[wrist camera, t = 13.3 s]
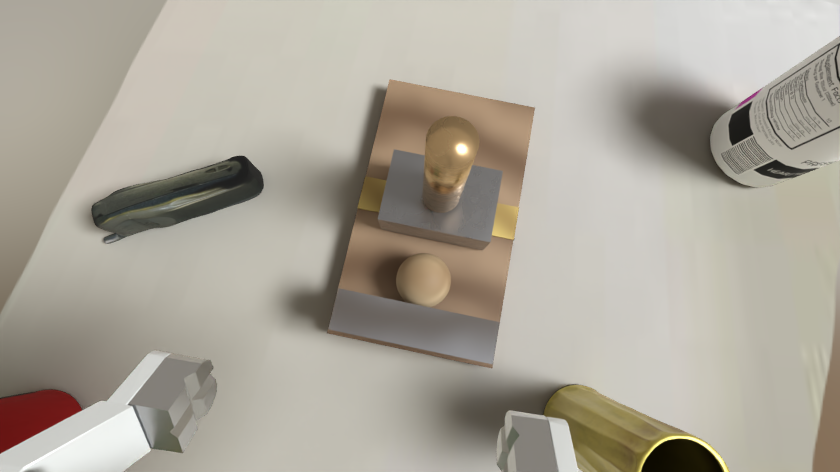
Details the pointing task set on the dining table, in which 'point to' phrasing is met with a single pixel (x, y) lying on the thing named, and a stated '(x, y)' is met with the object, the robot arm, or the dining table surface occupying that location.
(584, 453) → the vase
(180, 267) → the dining table surface
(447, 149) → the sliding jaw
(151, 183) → the mobile phone
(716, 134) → the supplement can
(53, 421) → the beverage can
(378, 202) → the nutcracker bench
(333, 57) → the dining table surface
